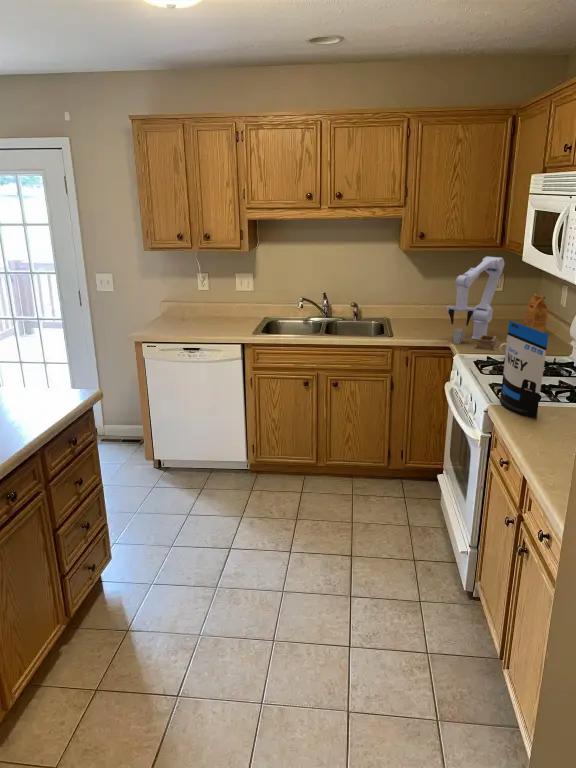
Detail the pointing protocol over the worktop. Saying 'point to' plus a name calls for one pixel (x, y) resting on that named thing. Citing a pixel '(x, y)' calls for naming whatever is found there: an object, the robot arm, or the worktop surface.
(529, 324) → the coffee package
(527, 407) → the protein powder
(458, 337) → the silver metal block
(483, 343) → the brown rectangular frame
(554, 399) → the worktop surface
